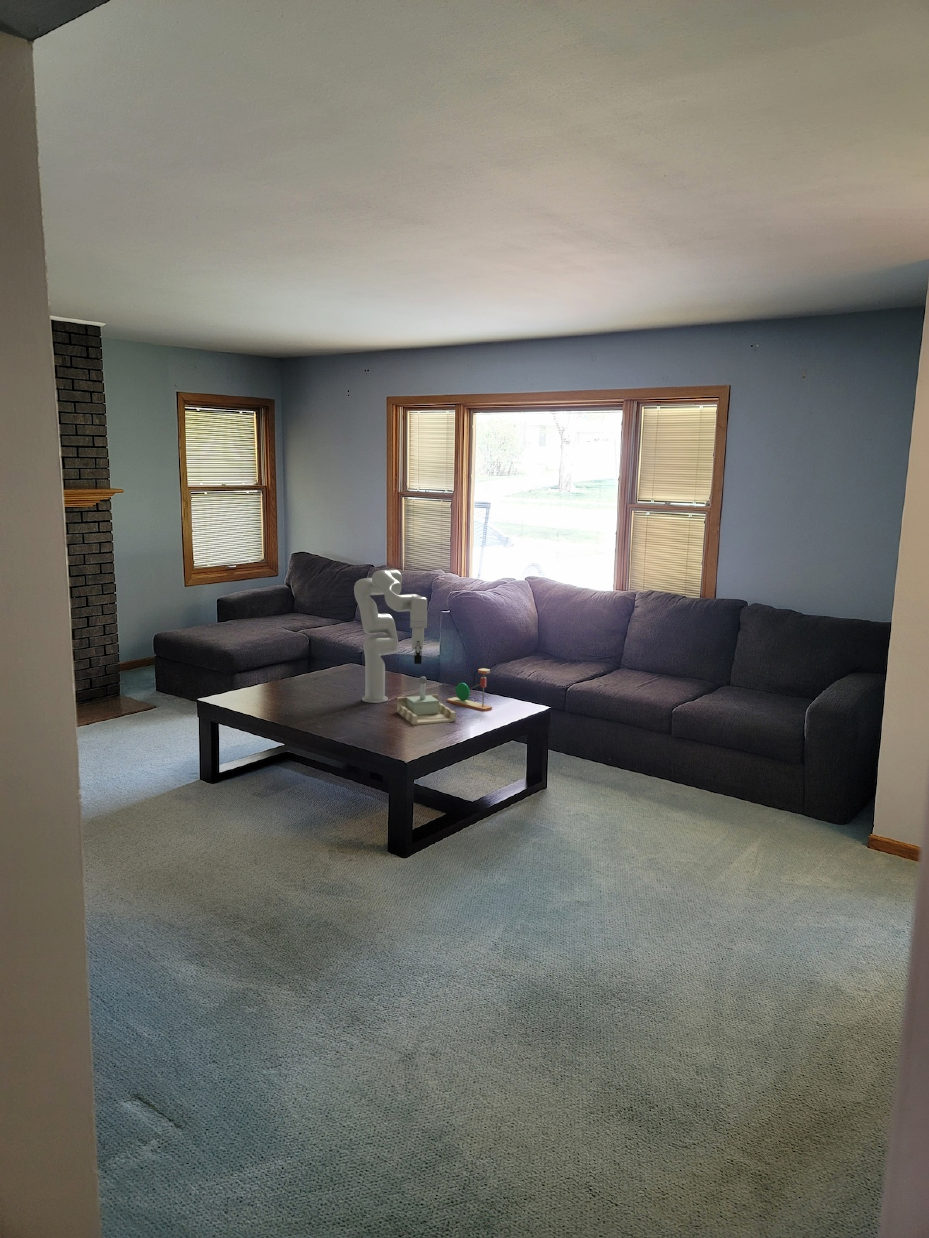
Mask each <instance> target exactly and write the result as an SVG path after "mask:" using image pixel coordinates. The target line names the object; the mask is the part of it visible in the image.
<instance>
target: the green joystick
mask: <svg viewBox="0 0 929 1238" xmlns="http://www.w3.org/2000/svg"><path fill="white" fill-rule="evenodd" d="M418 682H419V695H417V696H418V697H409V696H406V697H407V698H406V700H407V709H409V710H410V711H411V712H413V713H414V714H415V715H424V714H435V713H438V712H439V702H440V701H439V699H438V700H437V699H436V698H434V697H433V696H431V695H432V694H429V695H430V696H426V695H427V693H426V687H427V686H426V685H427V684H426V683H427V682H428V680H427V677H426V676H420V677H419V679H418Z"/></svg>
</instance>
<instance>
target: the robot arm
mask: <svg viewBox="0 0 929 1238" xmlns="http://www.w3.org/2000/svg"><path fill="white" fill-rule="evenodd" d="M402 582H403V576H402V574H401V572H400V571H399V570H397V569H379V570H376V571H375V572H374V573H373V574H372V576H371V577H365V578H360V579H358V580H357V581H356V582H355V583H354V586H353V591H354V592H353V593H354V598H355V601H356V603H357V605H358V607H359V613H360V619H361V624H362V628H363V631H364V632H365V634H367V635H372V636H370V637H367V638H365V640H364V641H363V646H362V647H363V654H364V661H365V663H364V664H365V667H364V668H365V670H364V671H365V675H364V676H365V679H364V680H365V682H364V683H365V684H364V685H365V688H364V691H365V693H364V694H365V695H363V696H362V697H361V700H362V702H365V703H370V704H371V703H372V704H380V703H385V702H387V701H389V698H388V696H386V692H385V691H386V686H385V685H386V663H385V661H384V659H383V658H382V657H381V656H386V655H393V654H395V653H397V652H398V650H399V646H400V645H399V639H398V633H397V628H396V622H395V619H394V618H393V616H392V615H391V614H389V613H384V612H383V613H379V611H378V606H377V603H376V601H375V600H374V599H373V598H372V597H371V596H380V595H383V596H384V601H385V603H386V604H385V605H387V606H388V607H389V608H390V609H391V610H392V611H395V612H399V613H400V612H402V613H403V612H409V613H410V615H409V617H410V618H409V624H410V625H409V628H410V629H412V630H411V631H412V632H411V650H412V651H414V655H413V656H414V661H413V664H414V665H422V657H423V656H422V654H423V653H422V651H423V649H424V643H425V642H424V640H425V639H424V638H425V629H426V628H428V598H427V597H425V596H421V595H419V594H416V593H409V594H408V593H407V594H400V593H402V584H403V583H402ZM375 634H376V635H375ZM377 634H383V635H377ZM373 635H374V636H373Z"/></svg>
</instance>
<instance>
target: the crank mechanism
mask: <svg viewBox="0 0 929 1238" xmlns="http://www.w3.org/2000/svg"><path fill="white" fill-rule="evenodd" d="M478 674H483V675H482V676H481V677H480V682H479V683H478V684H476V685H473V686H471V687H469V686H468V685H467V684H466V683H465V682H460V683H458V684H457V685H456V687H455V694H456V697H455V696H454V697H449V698H447V699H446V700H447V703H450V704H453V705H456V706H460V707H464V708H469V709H473V710H476V711H480V712H487V711H492V710H493V706H491V705H487V704H485V702H484V701H485V699H484V698H485V696H484V695H485V688H487V679H488V678H487V677H486V676H485V675H487V674H491V669H490V668H484V667H483V668H479V669H478ZM479 686H480V688H482V701H481V702H482V703H480V702H476V701H472V700H468V699H469V698H470V694H471V692H470V690H473V689H476V687H479Z"/></svg>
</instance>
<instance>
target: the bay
mask: <svg viewBox="0 0 929 1238" xmlns="http://www.w3.org/2000/svg"><path fill="white" fill-rule="evenodd" d="M430 695H431V696H433V697H434V698H436V699H437V700H439V694H438V693H435V694H426V696H430ZM418 696H419V695H413V696H412V695H410V696H399V697H397V698H396V712H397V714H399V715H400V716H401V717H402V718H404V719H405V720H406V721H408V722H410V724H412V725H413V726H419V725H429V724H430V725H431V724H440V723H450V722H456V721H457V720H456V718H457V713H456V711H454V710H453V709H451V708H449V707H448V706H447V705H445V704H444V703H442V702H441V701H439V712H438V713H435V714H424V715H415V714H414V713H413V712H411V711H410V710H409V709H407V700H406V698H407V697H418Z"/></svg>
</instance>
